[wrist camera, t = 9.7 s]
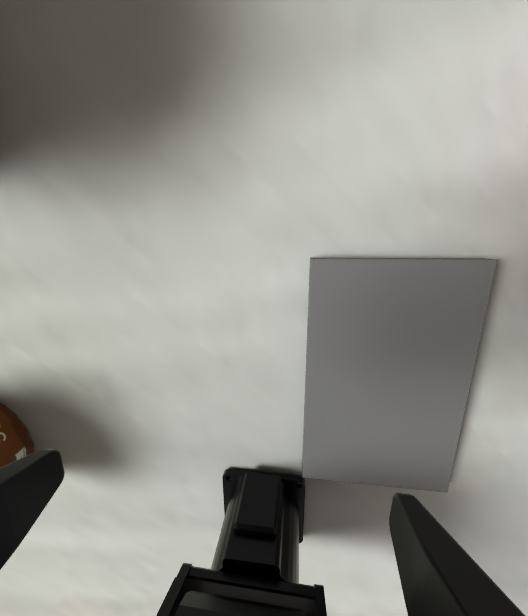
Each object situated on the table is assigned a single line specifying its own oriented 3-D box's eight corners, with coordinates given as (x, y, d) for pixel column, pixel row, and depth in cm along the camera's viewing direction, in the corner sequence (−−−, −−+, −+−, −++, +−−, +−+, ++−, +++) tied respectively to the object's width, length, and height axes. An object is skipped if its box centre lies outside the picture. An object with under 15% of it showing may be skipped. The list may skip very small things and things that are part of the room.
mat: (440, 479, 20) (447, 492, 19) (302, 466, 21) (302, 477, 20) (485, 258, 16) (497, 260, 15) (310, 257, 17) (310, 259, 16)
